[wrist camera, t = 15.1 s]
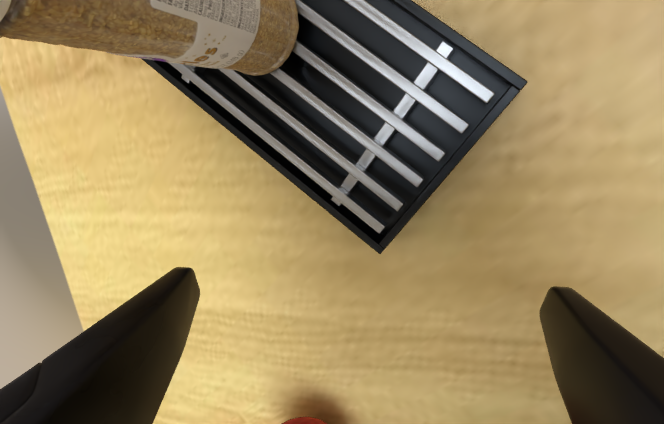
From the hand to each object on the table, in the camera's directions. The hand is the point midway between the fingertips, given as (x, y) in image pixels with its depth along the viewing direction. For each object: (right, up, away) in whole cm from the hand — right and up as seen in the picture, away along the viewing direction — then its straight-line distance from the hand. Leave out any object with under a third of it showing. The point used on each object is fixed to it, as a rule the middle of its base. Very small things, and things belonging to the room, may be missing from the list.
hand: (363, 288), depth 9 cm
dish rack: (-2, +10, +10) cm, 14 cm away
